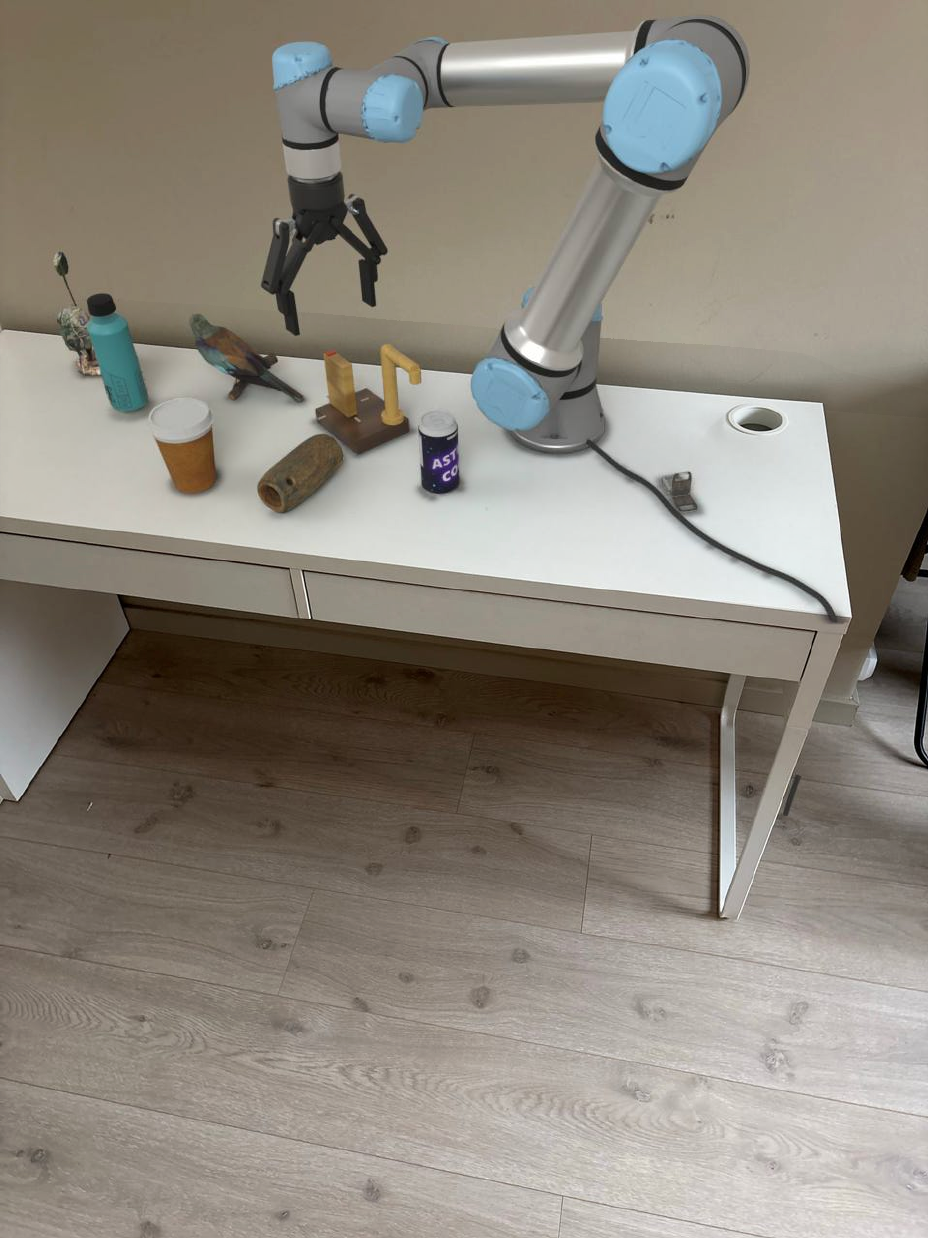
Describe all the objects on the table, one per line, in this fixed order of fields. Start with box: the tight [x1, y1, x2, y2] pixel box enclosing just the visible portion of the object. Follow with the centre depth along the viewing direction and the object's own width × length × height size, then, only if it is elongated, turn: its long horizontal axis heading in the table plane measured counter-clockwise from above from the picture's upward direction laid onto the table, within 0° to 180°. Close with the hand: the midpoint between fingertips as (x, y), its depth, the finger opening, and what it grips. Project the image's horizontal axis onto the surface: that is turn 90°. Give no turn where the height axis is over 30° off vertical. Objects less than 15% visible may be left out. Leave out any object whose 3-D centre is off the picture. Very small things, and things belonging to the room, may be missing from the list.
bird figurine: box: [188, 313, 305, 403], centre depth 170 cm, size 13×10×20 cm
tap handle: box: [322, 349, 357, 418], centre depth 161 cm, size 6×2×9 cm, turn 38°
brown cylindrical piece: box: [256, 433, 345, 514], centre depth 151 cm, size 15×7×7 cm, turn 155°
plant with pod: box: [52, 250, 101, 377], centre depth 174 cm, size 8×11×20 cm
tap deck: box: [315, 387, 410, 455], centre depth 165 cm, size 14×11×3 cm
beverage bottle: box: [86, 292, 150, 412], centre depth 163 cm, size 6×7×20 cm
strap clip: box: [661, 470, 698, 514], centre depth 149 cm, size 8×3×4 cm, turn 11°
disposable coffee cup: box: [146, 397, 217, 494], centre depth 151 cm, size 10×10×12 cm
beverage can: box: [417, 409, 460, 497], centre depth 149 cm, size 6×6×12 cm
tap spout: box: [379, 343, 422, 425], centre depth 156 cm, size 10×4×13 cm, turn 38°
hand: (331, 317), depth 153 cm, fingers open, 13 cm apart
